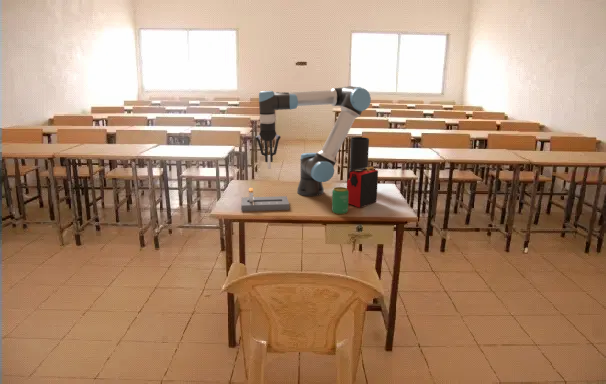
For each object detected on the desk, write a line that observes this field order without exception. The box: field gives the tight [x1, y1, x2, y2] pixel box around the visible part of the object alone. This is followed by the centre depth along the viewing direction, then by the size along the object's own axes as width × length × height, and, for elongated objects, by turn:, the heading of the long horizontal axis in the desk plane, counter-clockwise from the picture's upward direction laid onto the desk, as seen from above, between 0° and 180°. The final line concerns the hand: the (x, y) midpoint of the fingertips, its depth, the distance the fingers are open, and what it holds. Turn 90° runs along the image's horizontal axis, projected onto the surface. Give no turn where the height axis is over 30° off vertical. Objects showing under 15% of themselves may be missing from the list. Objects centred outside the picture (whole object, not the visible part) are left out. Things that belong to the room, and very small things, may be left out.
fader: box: [248, 187, 254, 202], centre depth 235 cm, size 2×5×9 cm, turn 7°
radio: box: [346, 166, 379, 209], centre depth 241 cm, size 16×10×20 cm, turn 134°
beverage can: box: [331, 186, 349, 215], centre depth 228 cm, size 8×8×12 cm
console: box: [240, 195, 290, 212], centre depth 237 cm, size 24×14×3 cm, turn 97°
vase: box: [349, 136, 370, 172], centre depth 266 cm, size 10×10×30 cm
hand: (269, 168), depth 236 cm, fingers closed
